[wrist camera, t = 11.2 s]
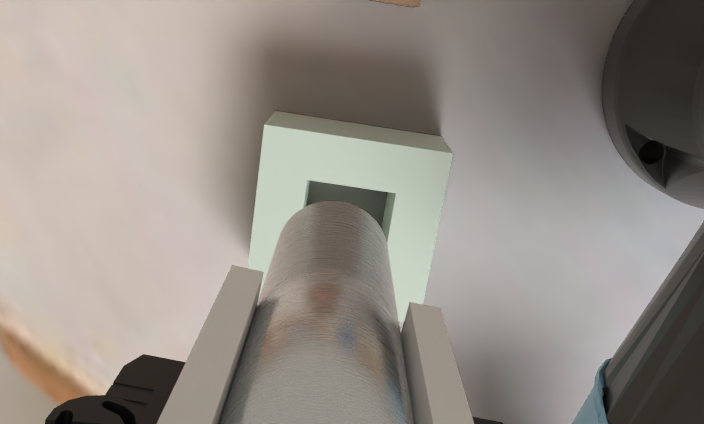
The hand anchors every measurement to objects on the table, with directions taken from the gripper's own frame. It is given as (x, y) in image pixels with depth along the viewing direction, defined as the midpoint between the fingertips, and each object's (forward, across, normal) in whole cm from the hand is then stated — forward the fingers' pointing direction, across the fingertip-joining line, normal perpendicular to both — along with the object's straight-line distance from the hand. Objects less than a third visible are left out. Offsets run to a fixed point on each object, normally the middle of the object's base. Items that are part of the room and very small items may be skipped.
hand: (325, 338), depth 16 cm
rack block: (+25, -1, +4) cm, 25 cm away
